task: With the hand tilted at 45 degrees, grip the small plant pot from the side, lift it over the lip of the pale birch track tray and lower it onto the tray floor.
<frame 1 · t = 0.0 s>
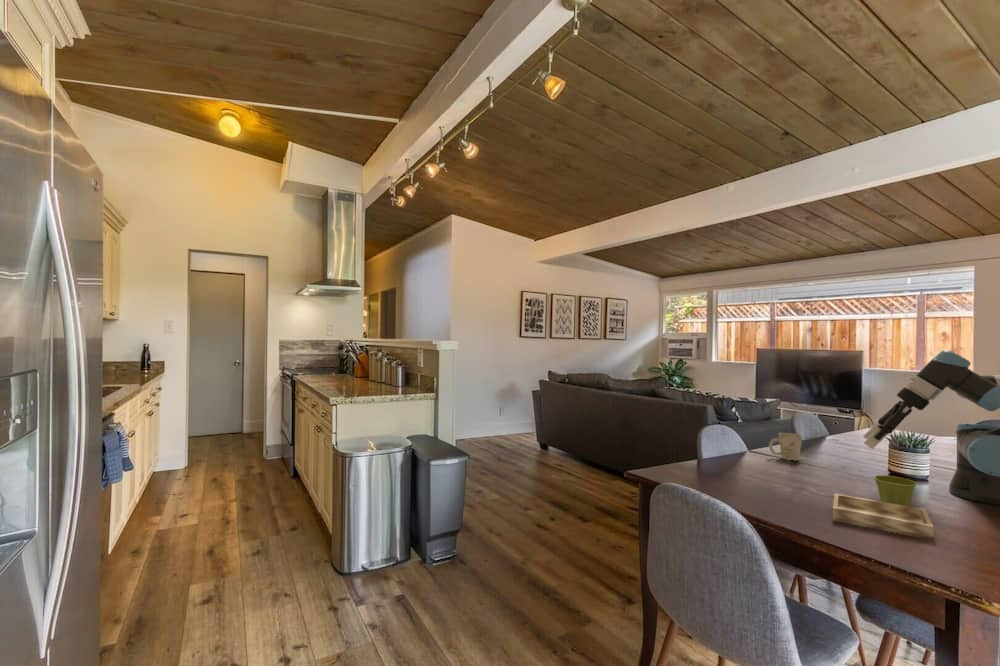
hand: (867, 442, 154), 15 cm above the table, tool tilted 35°, fingers open, 13 cm apart
mug: (784, 459, 192), on the table
plant pot: (894, 510, 135), on the table
track tray: (879, 521, 125), on the table
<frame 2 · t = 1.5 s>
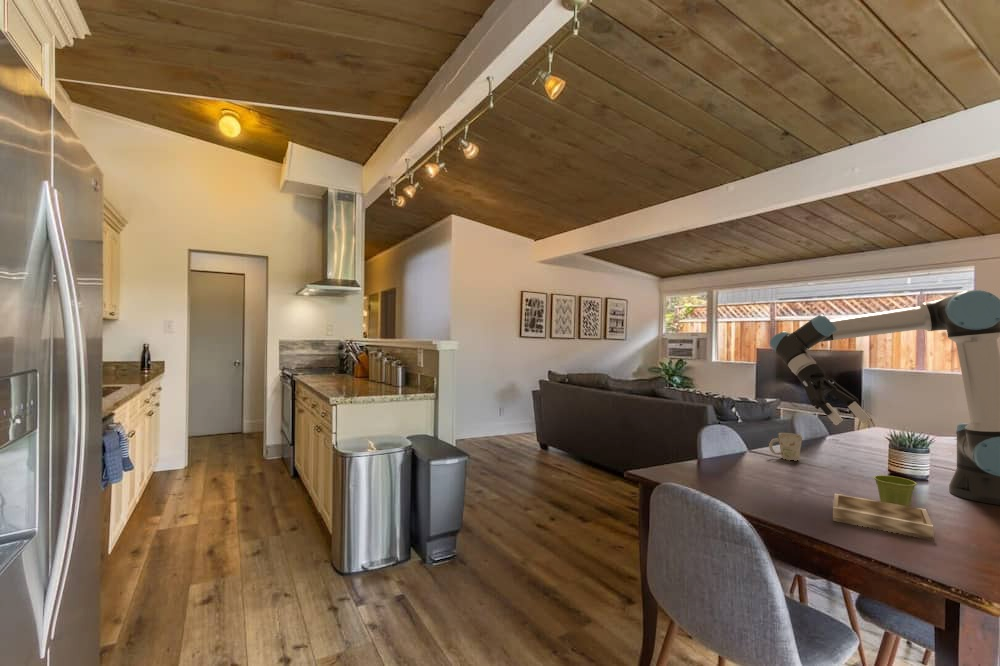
hand: (853, 421, 145), 24 cm above the table, tool tilted 45°, fingers open, 13 cm apart
nothing on the table moved.
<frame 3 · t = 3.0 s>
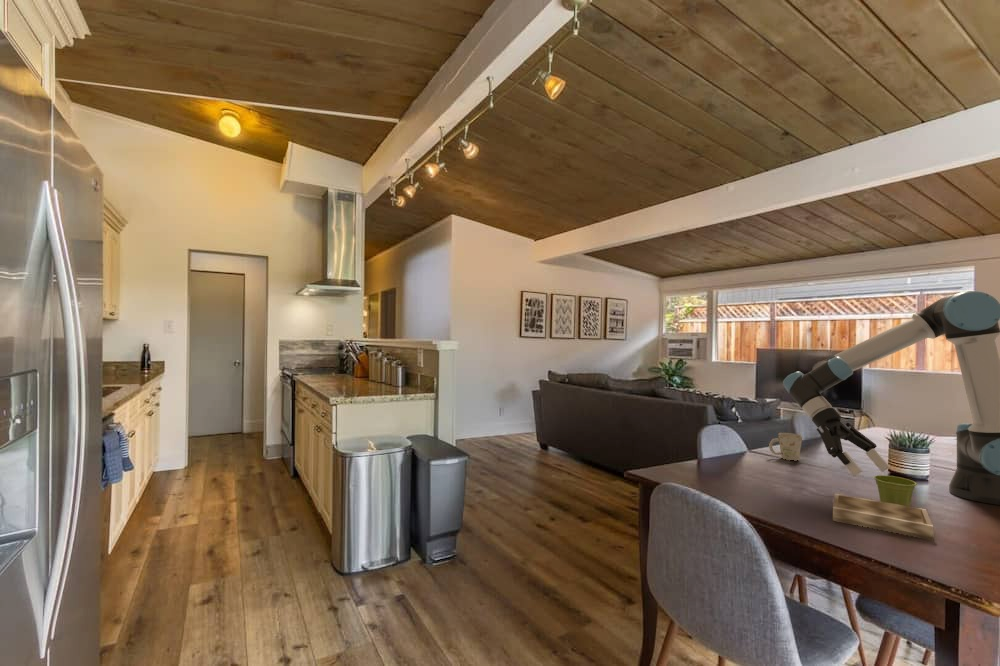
hand: (872, 471, 139), 10 cm above the table, tool tilted 45°, fingers open, 13 cm apart
nothing on the table moved.
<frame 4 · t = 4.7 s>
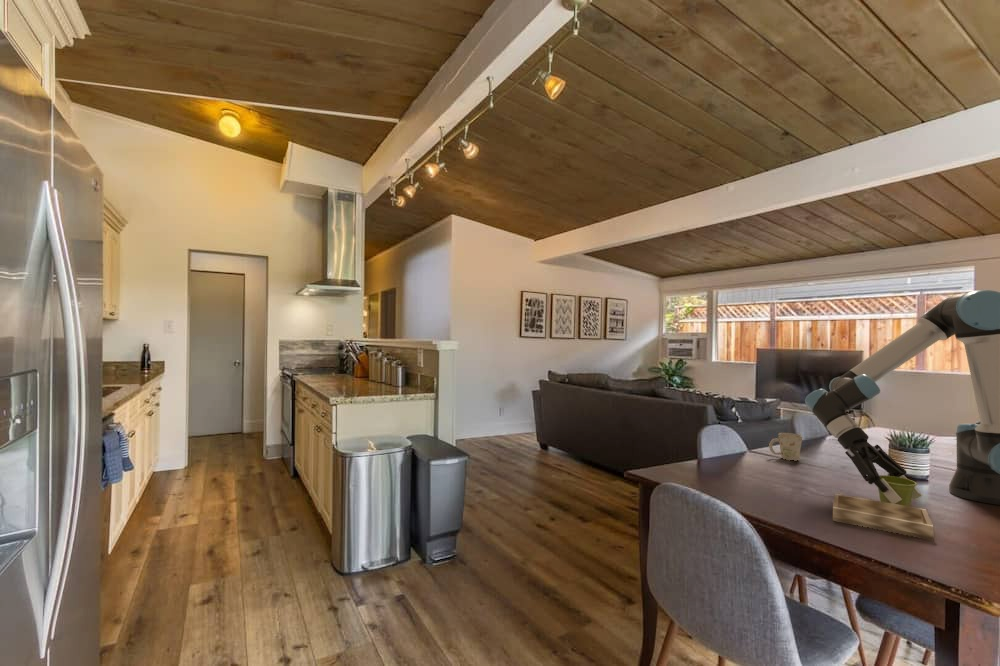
hand: (907, 499, 132), 4 cm above the table, tool tilted 45°, fingers closed on plant pot, 9 cm apart
plant pot: (894, 510, 135), on the table, touching gripper
everything else where it was.
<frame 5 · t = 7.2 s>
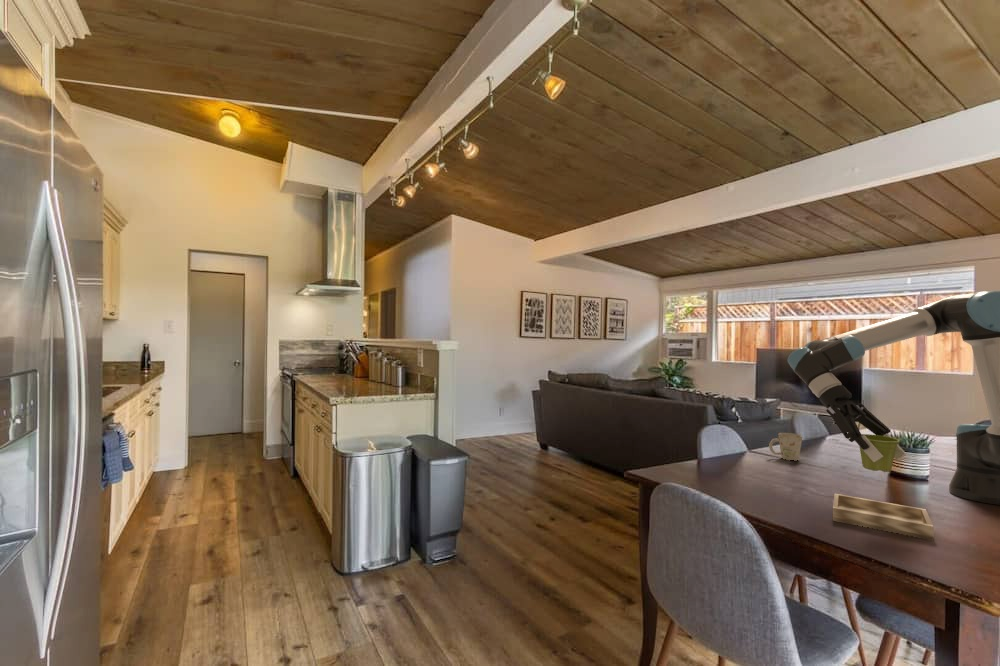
hand: (890, 458, 124), 17 cm above the table, tool tilted 45°, fingers closed on plant pot, 9 cm apart
plant pot: (876, 469, 127), point 13 cm above the table, touching gripper
everything else where it was.
when the fingers open (6 cm above the table, at t = 9.9 s): plant pot drops 1 cm, resting on track tray.
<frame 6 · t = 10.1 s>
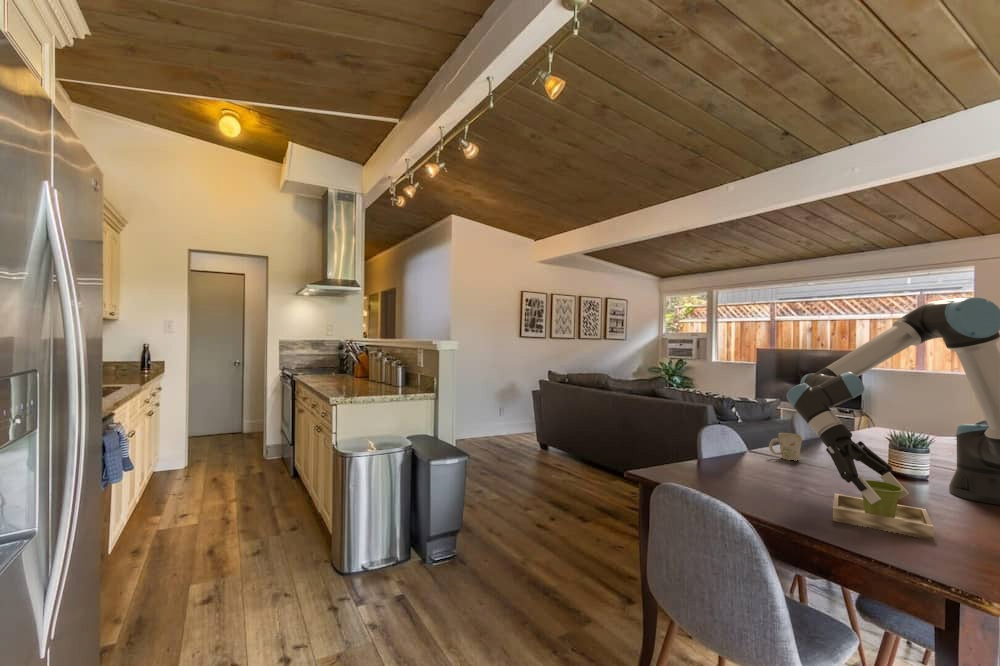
hand: (890, 499, 123), 7 cm above the table, tool tilted 45°, fingers open, 12 cm apart
plant pot: (879, 518, 126), point 1 cm above the table, touching track tray
everything else where it was.
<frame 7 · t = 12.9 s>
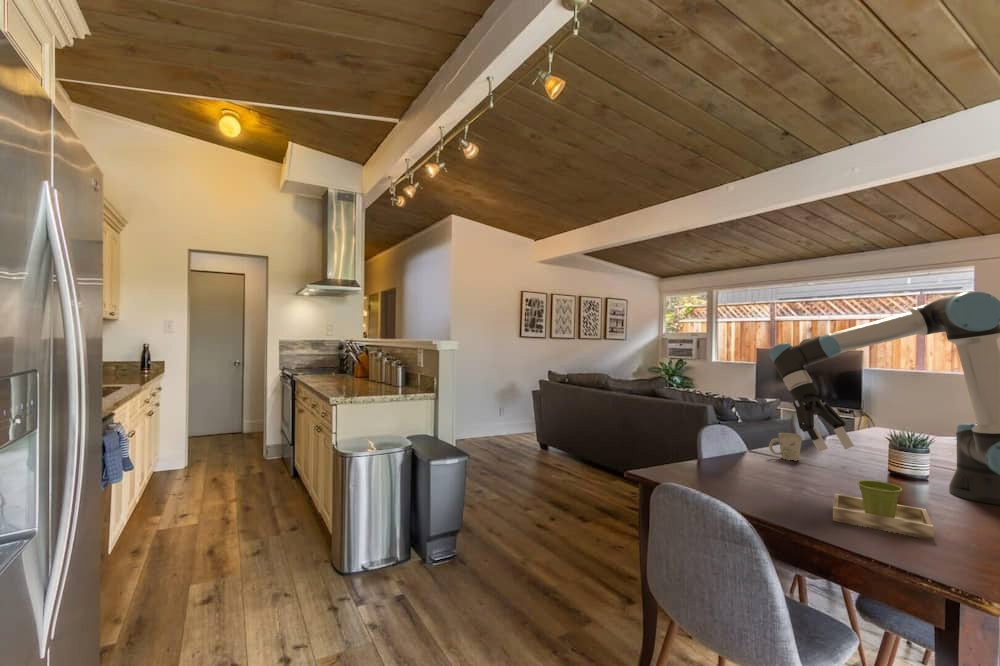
hand: (836, 449, 143), 15 cm above the table, tool tilted 30°, fingers open, 13 cm apart
nothing on the table moved.
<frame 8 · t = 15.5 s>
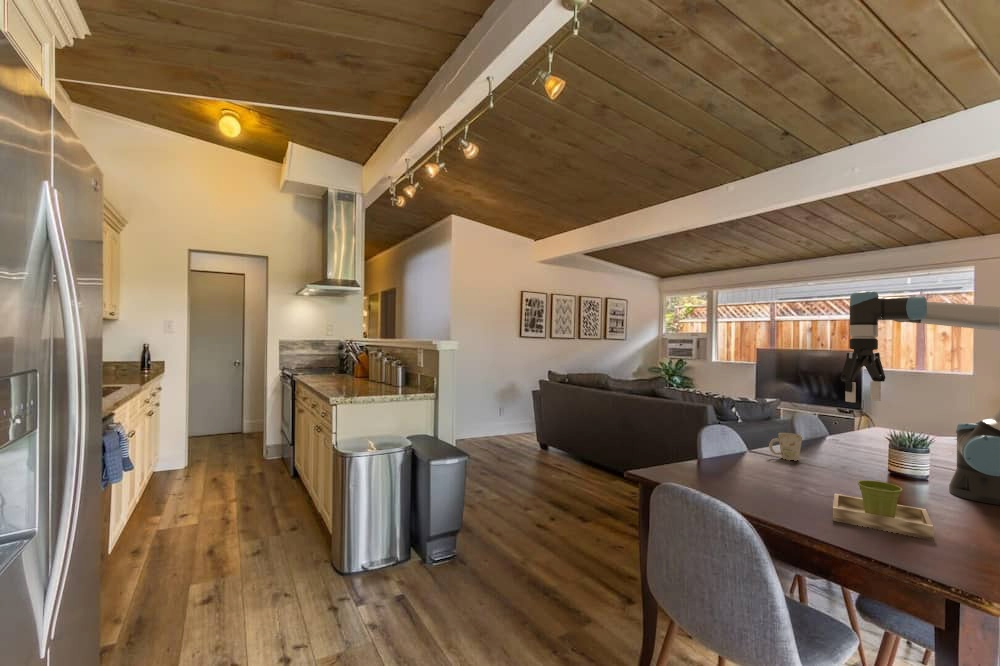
hand: (863, 401, 156), 29 cm above the table, tool pointing down, fingers open, 13 cm apart
nothing on the table moved.
at the end: plant pot inside the target area on the track tray (0.3 cm from its centre), point 0.8 cm above the track tray's base; plant pot tilted 0°; the gripper is holding nothing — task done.
